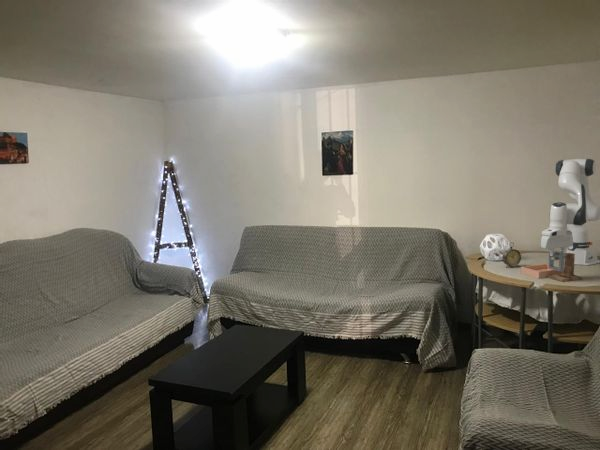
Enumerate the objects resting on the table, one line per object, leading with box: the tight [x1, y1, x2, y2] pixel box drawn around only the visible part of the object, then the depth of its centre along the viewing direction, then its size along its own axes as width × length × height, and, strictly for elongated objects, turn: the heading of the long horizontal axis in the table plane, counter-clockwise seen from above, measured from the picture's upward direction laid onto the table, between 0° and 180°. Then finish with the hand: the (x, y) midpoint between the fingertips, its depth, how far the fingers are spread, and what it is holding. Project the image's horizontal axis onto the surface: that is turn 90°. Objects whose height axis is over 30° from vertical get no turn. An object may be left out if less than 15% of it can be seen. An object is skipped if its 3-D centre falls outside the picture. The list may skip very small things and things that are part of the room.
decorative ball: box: [479, 233, 512, 262], centre depth 329 cm, size 20×20×17 cm
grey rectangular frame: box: [548, 249, 566, 271], centre depth 274 cm, size 2×8×10 cm, turn 18°
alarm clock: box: [502, 241, 522, 269], centre depth 307 cm, size 11×5×16 cm, turn 101°
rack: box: [547, 252, 582, 283], centre depth 276 cm, size 17×10×14 cm, turn 108°
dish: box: [520, 263, 564, 279], centre depth 288 cm, size 20×14×4 cm
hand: (556, 255), depth 273 cm, fingers open, 5 cm apart
